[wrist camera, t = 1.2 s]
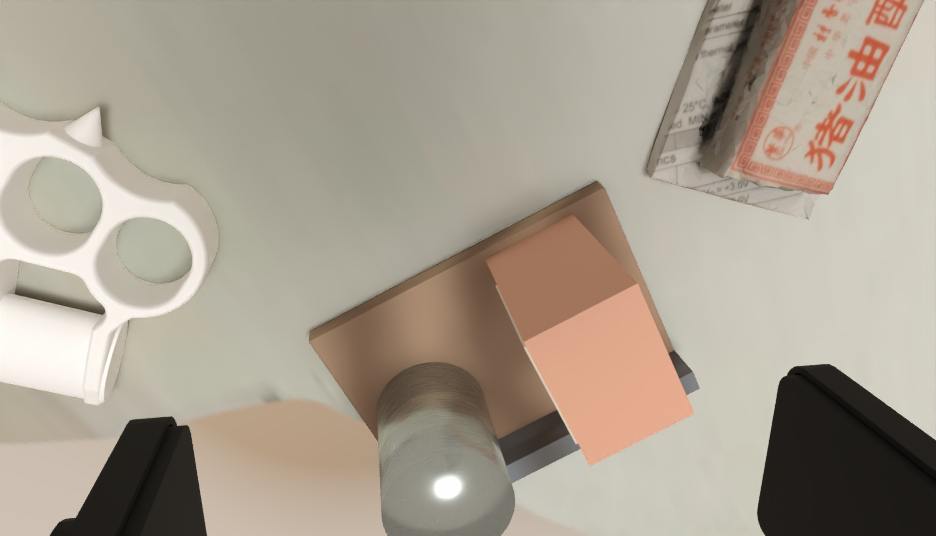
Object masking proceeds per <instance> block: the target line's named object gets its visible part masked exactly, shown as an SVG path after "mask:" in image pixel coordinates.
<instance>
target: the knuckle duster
mask: <svg viewBox="0 0 936 536" xmlns="http://www.w3.org/2000/svg"><path fill="white" fill-rule="evenodd" d="M42 157H56V158H61V159H64V160H67V161H70V162H72V163H74V164H76V165H77V166H79V167H80V168H82V169H83V170H84V171H85V172H87V173H88V174H89V175H90V176H91V178H92V179H93V180H94V182H95V183H96V185H97V187H98V189H99V191H100V194H101V197H102V214H101V217H100V219H99V221H98V223H97V225H96V226H95V228H94V230H93V231H91V232H87V233H68V232H64V231H61V230H58V229H56V228H54V227H52V226H51V225H49V224H48V223H46V222H45V221H44V220H43V219H42V218H41V217H40V216H39V215H38V214H37V213H36V211H35V210H34V208H33V206H32V204H31V202H30V199H29V194H28V185H29V180H30V178H31V175H32V174H33V172H34V170H35V168H36V167H37V165H38V163H39V161H40V160H41V158H42ZM139 217H148V218H154V219H158V220H161V221H164V222H166V223H168V224H170V225H171V226H173V227H174V228H175V229H177V230H178V231H179V232H180V233H181V234H182V235H183V237H184V238H185V239H186V241H187V243H188V245H189V247H190V250H191V254H192V266H191V269H190V271H189V272H188V273H187V274H186V275H185V276H183V277H182V278H180V279H178V280H176V281H173V282H170V283H162V284H158V283H150V282H147V281H144V280H141V279H139V278H137V277H136V276H134V275H133V274H131V273H130V272H129V271H128V270H127V269H126V268H125V267H124V266H123V264H122V263H121V261H120V259H119V257H118V254H117V250H116V239H117V235H118V232H119V230H120V229H121V227H122V225H123V224H124V222H125V221H127V220H129V219H133V218H139ZM218 242H219V235H218V228H217V223H216V220H215V217H214V215H213V213H212V211H211V209H210V207H209V206H208V204H207V203H206V201H205V200H204V199H203V198H202V196H201V195H200V194H199V193H198V192H197V191H196V190H194V189H193V188H192V187H191V186H189V185H188V184H173V183H167V182H163V181H160V180H157V179H155V178H152V177H150V176H148V175H146V174H145V173H143V172H142V171H140V170H139V169H137V168H136V167H135V166H134V165H132V164H131V163H130V162H129V161H128V160H127V159H126V158H125V156H124V155H123V154H122V153H121V151H120V150H119V148H118V147H117V145H116V144H115V143H114V142H112V141H110V140H108V139H107V138H105V137H103V136H102V127H101V115H100V106H98V107H96V108H95V109H93V110H92V111H90V112H88V113H87V114H85V115H84V116H82V117H80V118H79V119H77V120H76V121H75V120H67V121H58V122H52V121H42V120H37V119H33V118H30V117H27V116H24V115H22V114H19V113H17V112H15V111H13V110H12V109H10V108H8V107H7V106H5V105H4V104H2V103H1V102H0V382H4V383H9V384H14V385H19V386H24V387H29V388H34V389H39V390H44V391H48V392H53V393H58V394H63V395H68V396H73V397H78V398H83V399H84V402H85V403H88V404H93V405H99V404H100V403H101V402H103V403H106V402H107V400H108V399H109V397H110V395H111V392H112V390H113V387H114V384H115V381H116V378H117V375H118V372H119V368H120V364H121V360H122V355H123V351H124V346H125V341H126V337H127V330H128V320H129V319H131V318H147V317H154V316H159V315H163V314H166V313H169V312H171V311H173V310H175V309H177V308H179V307H180V306H182V305H183V304H185V303H186V302H187V301H188V300H190V299H191V298H192V297H193V296H194V294H195V293H196V292H197V291H198V289H199V288H200V286H201V284H202V282H203V280H204V279H205V277H206V275H207V273H208V271H209V269H210V267H211V265H212V263H213V261H214V259H215V257H216V254H217V250H218ZM20 261H24V262H28V263H32V264H36V265H40V266H44V267H48V268H52V269H56V270H60V271H65V272H69V273H73V274H75V275H77V276H79V277H80V278H81V279H82V280H83V281H84V282H85V284H86V286H87V288H88V289H89V291H90V292H91V294H92V295H93V296H94V297H95V298H96V299H97V300H98V301H99V302H100V303H101V304H102V305H103V307H104V308H105V311H106V312H105V313H104V314H103V315H100V314H96V313H92V312H88V311H83V310H79V309H75V308H70V307H66V306H62V305H58V304H53V303H49V302H45V301H40V300H36V299H32V298H28V297H23V296H19V295H15V290H16V283H17V277H18V271H19V264H20Z"/></svg>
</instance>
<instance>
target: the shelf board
mask: <svg viewBox="0 0 936 536" xmlns="http://www.w3.org/2000/svg"><path fill="white" fill-rule="evenodd" d="M572 214H573V215H574V216H575V217H576V218H577V219H578V220H579V221H580V222H581V224H582V225H583V226H584V227H585V228H586V229H587V230H588V231H589V232H590V233H591V234H592V235H593V236H594V237H595V238H596V239H597V240H598V242H599V243H600V244H601V245H602V246H603V247H604V248H605V249H606V250H607V251H608V252H609V253H610V254H611V255H612V256H613V257H614V259H615V260H616V261H617V262H618V263H619V264H620V265H621V266H622V267H623V268H624V269H625V270H626V271H627V272H628V273H629V274H630V276H631V277H632V278H633V279H634V280H635V281H636V282H637V283H638V285H639V287H640V289H641V292H642V294H643V296H644V299H645V301H646V303H647V306H648V308H649V310H650V313H651V315H652V317H653V319H654V322H655V324H656V326H657V329H658V331H659V333H660V336H661V338H662V340H663V343H664V345H665V347H666V349H667V352H668V354H669V356H670V359H671V361H672V363H673V366H674V368H675V370H676V372H677V375H678V377H679V379H680V382H681V384H682V386H683V389H684V391H685V393H686V395H688V394H690V393H692V392H694V391H696V390H698V389H700V388H699V385H698V383H697V381H696V378H695V376H694V373H693V371H692V370H691V369H690V368H689V367H688V366H687V365H686V363H685V362H684V361H683V360H682V359H681V358H680V356H679V355H678V354H677V353H676V352H675V351H674V349H673V346H672V344H671V342H670V339H669V337H668V335H667V332H666V330H665V328H664V325H663V323H662V321H661V318H660V316H659V314H658V311H657V309H656V307H655V304H654V302H653V300H652V297H651V295H650V293H649V290H648V288H647V286H646V283H645V281H644V279H643V276H642V274H641V272H640V269H639V267H638V265H637V262H636V260H635V258H634V255H633V253H632V251H631V248H630V246H629V244H628V241H627V239H626V237H625V234H624V232H623V230H622V227H621V225H620V223H619V220H618V218H617V216H616V213H615V211H614V209H613V206H612V204H611V202H610V199H609V197H608V195H607V192H606V190H605V188H604V187H603V186H602V185H601V184H600V183H598V182H597V181H596V182H594V183H592V184H591V185H589V186H587V187H585V188H583V189H581V190H579V191H577V192H575V193H573V194H571V195H570V196H568V197H566V198H564V199H562V200H560V201H558V202H556V203H554V204H552V205H550V206H549V207H547V208H545V209H543V210H541V211H539V212H537V213H535V214H533V215H531V216H529V217H528V218H526V219H524V220H522V221H520V222H518V223H516V224H514V225H512V226H510V227H508V228H506V229H505V230H503V231H501V232H499V233H497V234H495V235H493V236H491V237H489V238H487V239H485V240H484V241H482V242H480V243H478V244H476V245H474V246H472V247H470V248H468V249H466V250H464V251H463V252H461V253H459V254H457V255H455V256H453V257H451V258H449V259H447V260H445V261H443V262H442V263H440V264H438V265H436V266H434V267H432V268H430V269H428V270H426V271H424V272H422V273H421V274H419V275H417V276H415V277H413V278H411V279H409V280H407V281H405V282H403V283H401V284H400V285H398V286H396V287H394V288H392V289H390V290H388V291H386V292H384V293H382V294H380V295H378V296H377V297H375V298H373V299H371V300H369V301H367V302H365V303H363V304H361V305H359V306H357V307H356V308H354V309H352V310H350V311H348V312H346V313H344V314H342V315H340V316H338V317H336V318H335V319H333V320H331V321H329V322H327V323H325V324H323V325H321V326H319V327H317V328H315V329H314V330H312V331H310V337H309V343H310V344H311V346H312V347H313V348H314V350H315V351H316V353H317V354H318V356H319V357H320V359H321V360H322V361H323V363H324V364H325V366H326V367H327V369H328V370H329V371H330V373H331V374H332V376H333V377H334V379H335V380H336V382H337V383H338V384H339V386H340V387H341V389H342V390H343V392H344V393H345V395H346V396H347V397H348V399H349V400H350V402H351V403H352V405H353V406H354V407H355V409H356V410H357V412H358V413H359V415H360V416H361V418H362V419H363V420H364V422H365V423H366V425H367V426H368V428H369V429H370V430H371V432H372V433H373V435H374V436H375V438H376V439H377V441H378V424H377V405H378V401H379V398H380V395H381V393H382V391H383V390H384V388H385V386H386V385H387V384H388V383H389V381H390V380H391V379H392V378H393V377H395V376H396V375H397V374H399V373H400V372H402V371H403V370H405V369H407V368H409V367H411V366H414V365H417V364H421V363H426V362H443V363H449V364H453V365H456V366H458V367H460V368H462V369H464V370H466V371H467V372H469V373H470V374H471V375H472V376H473V377H474V378H475V379H476V380H477V382H478V383H479V384H480V386H481V388H482V390H483V393H484V397H485V400H486V403H487V406H488V410H489V413H490V416H491V419H492V423H493V426H494V429H495V432H496V435H497V439H498V442H499V445H500V448H501V452H502V455H503V458H504V461H505V465H506V468H507V471H508V474H509V478H510V481H511V483H513V482H515V481H517V480H519V479H521V478H523V477H525V476H527V475H529V474H531V473H533V472H535V471H537V470H539V469H541V468H543V467H545V466H547V465H549V464H551V463H553V462H555V461H557V460H559V459H561V458H563V457H565V456H567V455H569V454H571V453H573V452H575V451H577V450H579V449H581V448H580V446H579V444H575V442H574V440H573V438H572V436H571V434H570V433H569V431H568V429H567V427H566V425H565V423H564V421H563V420H562V418H561V416H560V414H559V412H558V410H557V408H556V407H555V405H554V403H553V401H552V399H551V397H550V396H549V394H548V392H547V390H546V388H545V386H544V384H543V383H542V381H541V379H540V377H539V375H538V373H537V371H536V370H535V368H534V366H533V364H532V362H531V360H530V358H529V357H528V355H527V353H526V351H525V349H524V347H523V345H522V343H521V341H520V339H519V336H518V334H517V332H516V330H515V328H514V325H513V323H512V321H511V319H510V317H509V315H508V312H507V310H506V308H505V306H504V304H503V301H502V299H501V297H500V295H499V293H498V291H497V288H496V285H497V284H496V282H495V279H494V277H493V275H492V273H491V271H490V269H489V267H488V264H487V262H486V259H488V258H490V257H491V256H493V255H495V254H497V253H499V252H501V251H503V250H505V249H507V248H509V247H511V246H513V245H514V244H516V243H518V242H520V241H522V240H524V239H526V238H528V237H530V236H532V235H534V234H536V233H537V232H539V231H541V230H543V229H545V228H547V227H549V226H551V225H553V224H555V223H557V222H559V221H560V220H562V219H564V218H566V217H568V216H570V215H572Z"/></svg>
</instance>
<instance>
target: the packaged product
mask: <svg viewBox="0 0 936 536" xmlns="http://www.w3.org/2000/svg"><path fill="white" fill-rule="evenodd" d="M923 2H924V0H708V2H707V5H706V7H705V9H704V12H703V14H702V17H701V20H700V22H699V25H698V27H697V30H696V32H695V35H694V38H693V40H692V43H691V45H690V48H689V51H688V54H687V56H686V59H685V61H684V64H683V66H682V69H681V71H680V74H679V77H678V80H677V82H676V85H675V88H674V91H673V94H672V97H671V99H670V102H669V105H668V108H667V111H666V113H665V116H664V119H663V122H662V125H661V127H660V130H659V133H658V136H657V139H656V142H655V144H654V147H653V150H652V153H651V156H650V159H649V163H648V167H647V172H648V174H649V175H650V177H651V178H654V179H657V180H661V181H664V182H668V183H671V184H675V185H679V186H683V187H686V188H690V189H694V190H698V191H702V192H706V193H709V194H713V195H716V196H720V197H723V198H726V199H730V200H733V201H737V202H741V203H745V204H749V205H753V206H757V207H761V208H765V209H769V210H773V211H777V212H781V213H785V214H789V215H793V216H797V217H801V218H805V219H808V220H809V218H810V215H811V212H812V209H813V207H814V204H815V202H816V200H817V198H818V195H819V194H827V195H828V194H829V192H830V191H831V190H832V189H833V186H834V184H835V181H836V180H837V178H838V176H839V174H840V172H841V170H842V169H843V167H844V165H845V163H846V161H847V159H848V157H849V155H850V153H851V151H852V149H853V147H854V145H855V143H856V140H857V138H858V136H859V134H860V132H861V129H862V128H863V126H864V124H865V122H866V120H867V118H868V116H869V114H870V112H871V110H872V108H873V105H874V103H875V101H876V99H877V97H878V94H879V92H880V90H881V88H882V86H883V84H884V82H885V80H886V78H887V76H888V74H889V72H890V70H891V68H892V66H893V63H894V61H895V59H896V57H897V55H898V53H899V51H900V49H901V47H902V45H903V43H904V41H905V39H906V37H907V35H908V33H909V30H910V28H911V26H912V24H913V22H914V20H915V18H916V16H917V14H918V12H919V10H920V8H921V6H922V4H923Z"/></svg>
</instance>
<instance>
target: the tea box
mask: <svg viewBox="0 0 936 536" xmlns="http://www.w3.org/2000/svg"><path fill="white" fill-rule="evenodd" d="M486 262H487V264H488V267H489V269H490V271H491V273H492V275H493V277H494V279H495V282H496V284H497V285H496V288H497V291H498V293H499V295H500V297H501V299H502V301H503V304H504V306H505V308H506V310H507V312H508V315H509V317H510V319H511V321H512V323H513V325H514V328H515V330H516V332H517V334H518V336H519V339H520V341H521V343H522V345H523V347H524V349H525V351H526V353H527V355H528V357H529V358H530V360H531V362H532V364H533V366H534V368H535V370H536V371H537V373H538V375H539V377H540V379H541V381H542V383H543V384H544V386H545V388H546V390H547V392H548V394H549V396H550V397H551V399H552V401H553V403H554V405H555V407H556V408H557V410H558V412H559V414H560V416H561V418H562V420H563V421H564V423H565V425H566V427H567V429H568V431H569V433H570V434H571V436H572V438H573V440H574V442H575V444H579V446H580V448H581V450H582V452H583V454H584V455H585V457H586V459H587V461H588V463H589V465H590V466H591V465H593V464H595V463H597V462H599V461H601V460H603V459H605V458H607V457H609V456H611V455H613V454H614V453H616V452H618V451H620V450H622V449H624V448H626V447H628V446H630V445H632V444H634V443H636V442H638V441H640V440H642V439H644V438H646V437H648V436H650V435H652V434H654V433H656V432H658V431H660V430H662V429H664V428H666V427H668V426H670V425H672V424H674V423H676V422H678V421H680V420H682V419H684V418H686V417H688V416H690V415H692V414H694V412H693V409H692V407H691V405H690V402H689V400H688V398H687V396H686V393H685V391H684V389H683V386H682V384H681V382H680V379H679V377H678V375H677V372H676V370H675V368H674V366H673V363H672V361H671V359H670V356H669V354H668V352H667V349H666V347H665V345H664V343H663V340H662V338H661V336H660V333H659V331H658V329H657V326H656V324H655V322H654V319H653V317H652V315H651V313H650V310H649V308H648V306H647V303H646V301H645V299H644V296H643V294H642V292H641V289H640V287H639V285H638V283H637V282H636V281H635V280H634V279H633V278H632V277H631V276H630V274H629V273H628V272H627V271H626V270H625V269H624V268H623V267H622V266H621V265H620V264H619V263H618V262H617V261H616V260H615V259H614V257H613V256H612V255H611V254H610V253H609V252H608V251H607V250H606V249H605V248H604V247H603V246H602V245H601V244H600V243H599V242H598V240H597V239H596V238H595V237H594V236H593V235H592V234H591V233H590V232H589V231H588V230H587V229H586V228H585V227H584V226H583V225H582V224H581V222H580V221H579V220H578V219H577V218H576V217H575V216H574V215H573V214H572V215H570V216H568V217H566V218H564V219H562V220H560V221H559V222H557V223H555V224H553V225H551V226H549V227H547V228H545V229H543V230H541V231H539V232H537V233H536V234H534V235H532V236H530V237H528V238H526V239H524V240H522V241H520V242H518V243H516V244H514V245H513V246H511V247H509V248H507V249H505V250H503V251H501V252H499V253H497V254H495V255H493V256H491V257H490V258H488V259H486Z"/></svg>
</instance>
